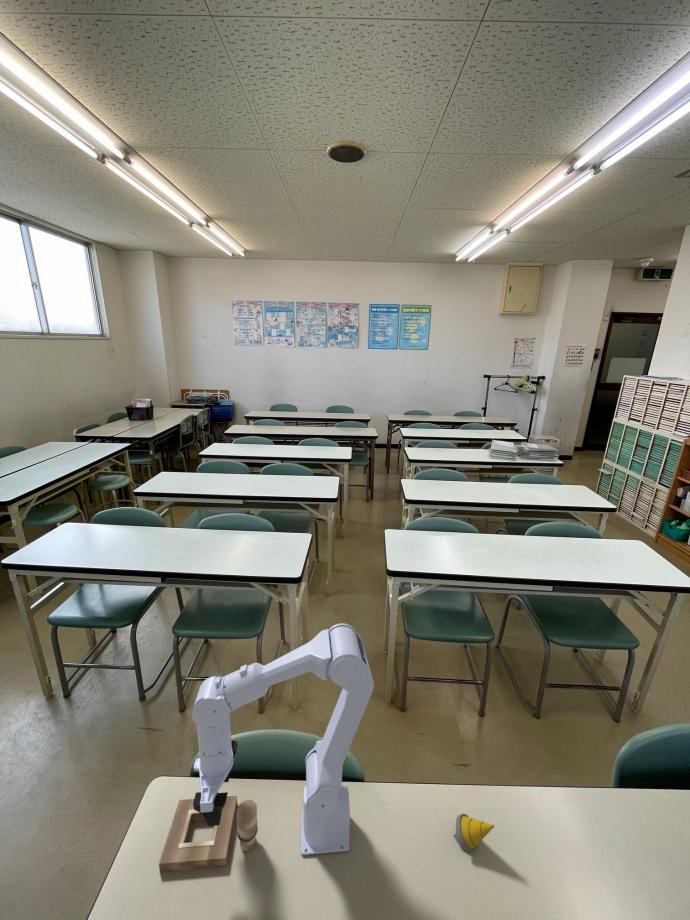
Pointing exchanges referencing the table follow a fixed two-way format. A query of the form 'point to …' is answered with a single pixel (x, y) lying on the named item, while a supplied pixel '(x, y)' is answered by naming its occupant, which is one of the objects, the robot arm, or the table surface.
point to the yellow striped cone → (470, 832)
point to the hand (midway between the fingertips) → (219, 801)
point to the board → (197, 853)
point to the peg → (247, 824)
